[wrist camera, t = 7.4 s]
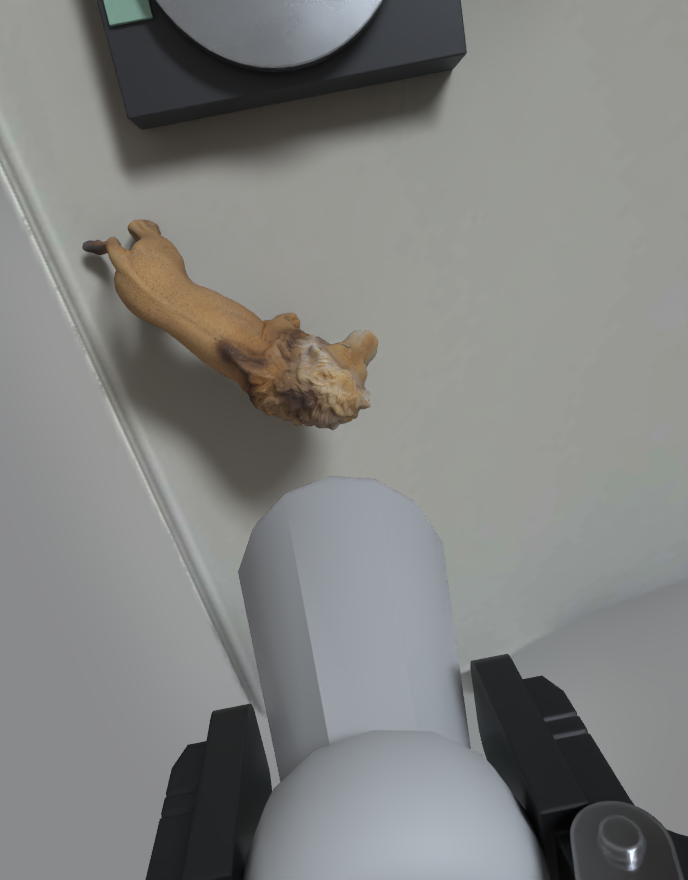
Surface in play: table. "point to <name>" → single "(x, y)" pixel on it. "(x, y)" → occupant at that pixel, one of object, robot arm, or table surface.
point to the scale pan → (271, 29)
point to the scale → (234, 89)
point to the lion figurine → (242, 336)
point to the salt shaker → (369, 700)
